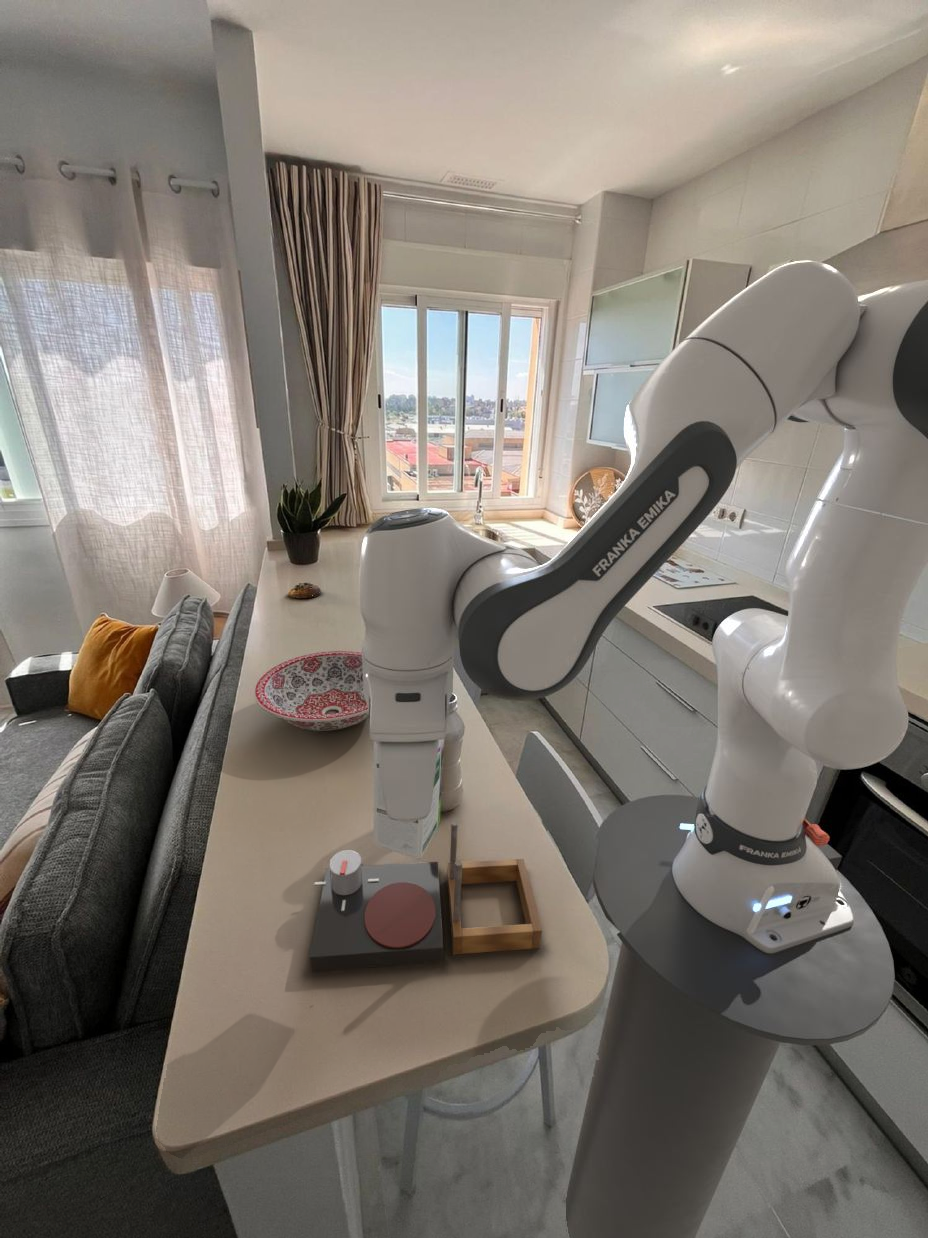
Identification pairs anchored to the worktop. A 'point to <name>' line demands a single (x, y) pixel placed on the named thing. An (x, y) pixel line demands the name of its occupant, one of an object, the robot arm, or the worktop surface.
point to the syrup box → (406, 834)
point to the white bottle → (452, 758)
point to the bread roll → (304, 591)
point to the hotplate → (399, 915)
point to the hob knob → (345, 872)
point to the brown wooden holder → (497, 935)
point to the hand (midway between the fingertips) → (408, 789)
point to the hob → (344, 926)
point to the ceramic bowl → (315, 690)
